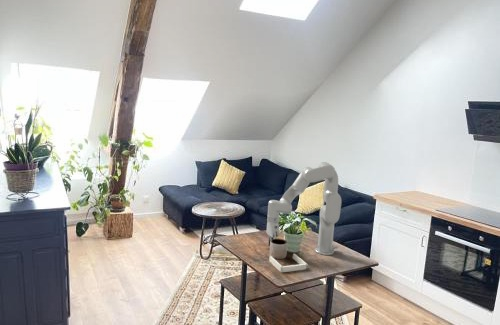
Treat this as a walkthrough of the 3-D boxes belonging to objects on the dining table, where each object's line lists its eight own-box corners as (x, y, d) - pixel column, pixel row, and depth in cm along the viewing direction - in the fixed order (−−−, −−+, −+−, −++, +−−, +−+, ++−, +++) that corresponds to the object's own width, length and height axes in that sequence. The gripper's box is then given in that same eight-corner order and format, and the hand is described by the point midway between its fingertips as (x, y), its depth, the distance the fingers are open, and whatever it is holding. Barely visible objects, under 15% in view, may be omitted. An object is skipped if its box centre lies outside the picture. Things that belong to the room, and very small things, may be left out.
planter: (285, 260, 227) (286, 245, 226) (268, 258, 229) (269, 243, 228) (287, 253, 238) (288, 239, 236) (270, 251, 240) (271, 237, 238)
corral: (294, 258, 231) (294, 253, 231) (307, 269, 216) (308, 264, 216) (269, 261, 225) (269, 256, 224) (281, 272, 210) (281, 267, 209)
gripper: (283, 222, 234) (281, 249, 237) (273, 215, 248) (271, 241, 251) (272, 222, 232) (270, 250, 234) (263, 216, 245) (261, 242, 248)
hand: (271, 245), depth 242 cm, fingers closed
